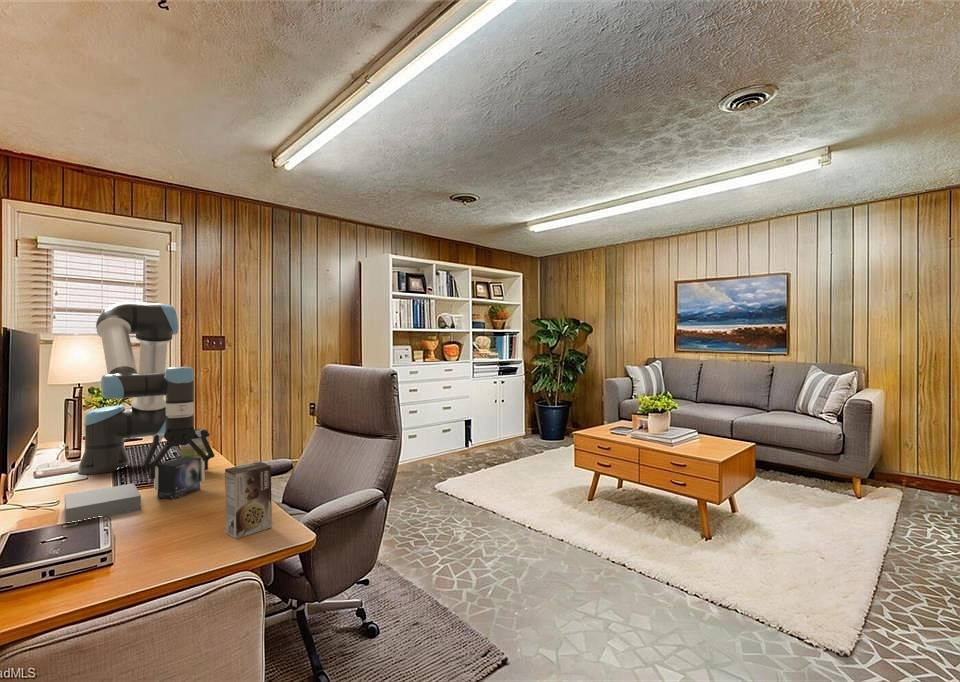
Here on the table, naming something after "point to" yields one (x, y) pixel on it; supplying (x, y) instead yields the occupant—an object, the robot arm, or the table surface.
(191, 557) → the table surface
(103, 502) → the plinth
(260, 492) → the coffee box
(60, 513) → the table surface
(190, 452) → the coffee cup
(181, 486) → the small box
